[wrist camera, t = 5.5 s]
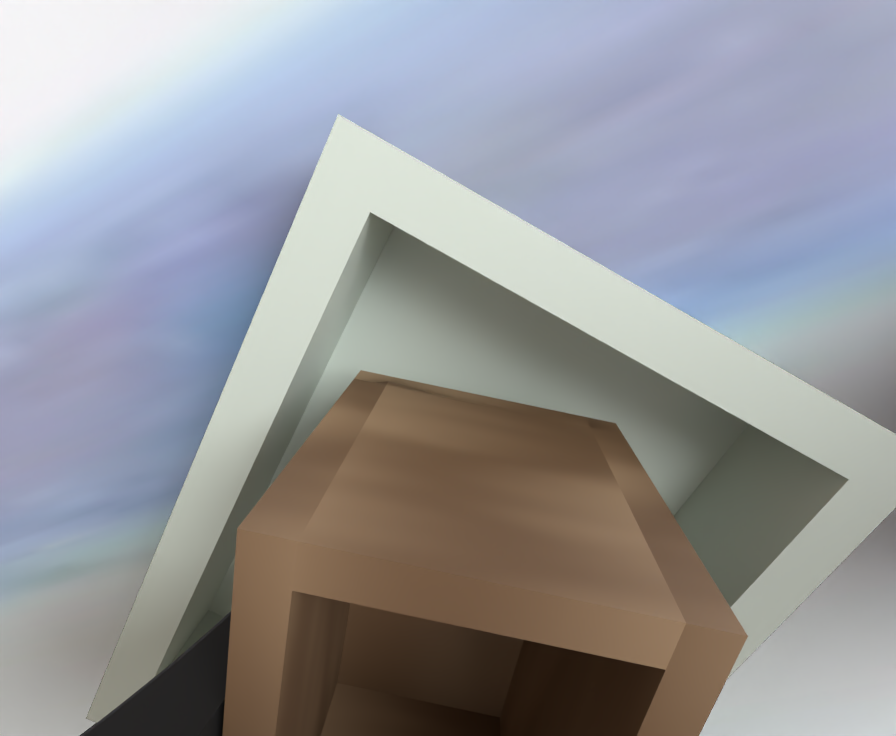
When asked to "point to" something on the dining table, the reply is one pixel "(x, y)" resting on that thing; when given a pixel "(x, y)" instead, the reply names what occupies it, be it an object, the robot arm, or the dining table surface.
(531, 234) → the white shallow tray
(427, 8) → the dining table surface
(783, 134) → the dining table surface
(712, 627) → the small crate
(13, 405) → the dining table surface
